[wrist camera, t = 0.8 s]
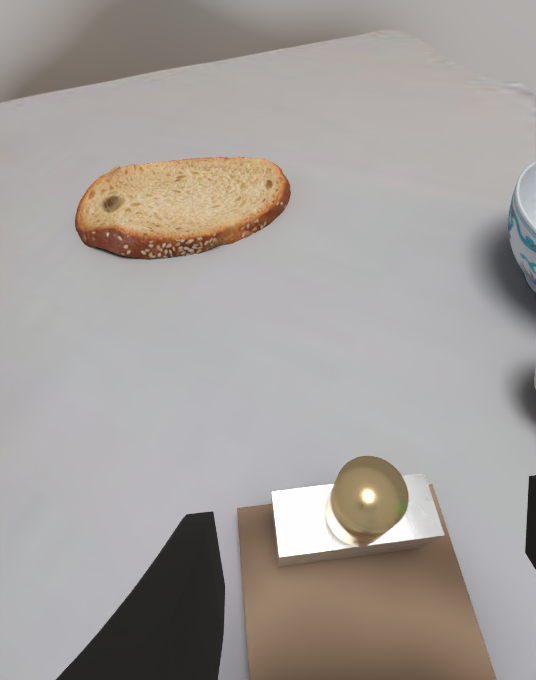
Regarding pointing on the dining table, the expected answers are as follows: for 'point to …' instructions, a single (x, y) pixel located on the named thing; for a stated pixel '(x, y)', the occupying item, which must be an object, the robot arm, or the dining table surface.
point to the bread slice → (180, 206)
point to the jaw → (355, 515)
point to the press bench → (358, 612)
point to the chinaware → (524, 223)
